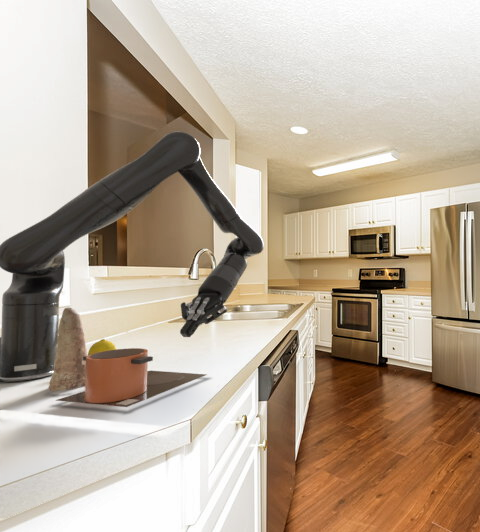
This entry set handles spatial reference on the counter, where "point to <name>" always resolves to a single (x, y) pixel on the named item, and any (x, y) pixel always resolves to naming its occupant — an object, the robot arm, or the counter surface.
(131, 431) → the counter surface
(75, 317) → the tapered standing stone
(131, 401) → the hob
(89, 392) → the pot
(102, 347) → the lemon
